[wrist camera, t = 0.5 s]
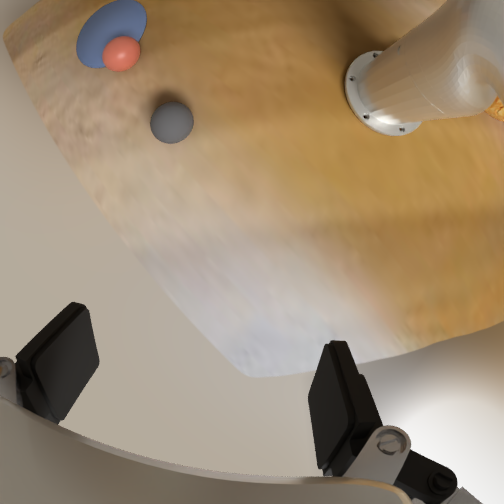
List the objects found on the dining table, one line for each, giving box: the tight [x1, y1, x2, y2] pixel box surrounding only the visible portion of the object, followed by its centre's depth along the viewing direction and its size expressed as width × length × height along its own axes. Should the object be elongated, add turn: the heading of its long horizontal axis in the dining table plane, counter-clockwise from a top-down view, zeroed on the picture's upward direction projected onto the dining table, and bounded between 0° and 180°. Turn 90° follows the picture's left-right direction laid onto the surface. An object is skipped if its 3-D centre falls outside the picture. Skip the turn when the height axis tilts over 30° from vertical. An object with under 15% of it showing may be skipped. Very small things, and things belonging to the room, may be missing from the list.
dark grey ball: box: [150, 102, 194, 144], centre depth 32 cm, size 6×6×6 cm
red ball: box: [102, 36, 140, 72], centre depth 29 cm, size 6×6×6 cm
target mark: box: [76, 0, 147, 68], centre depth 29 cm, size 13×13×1 cm
